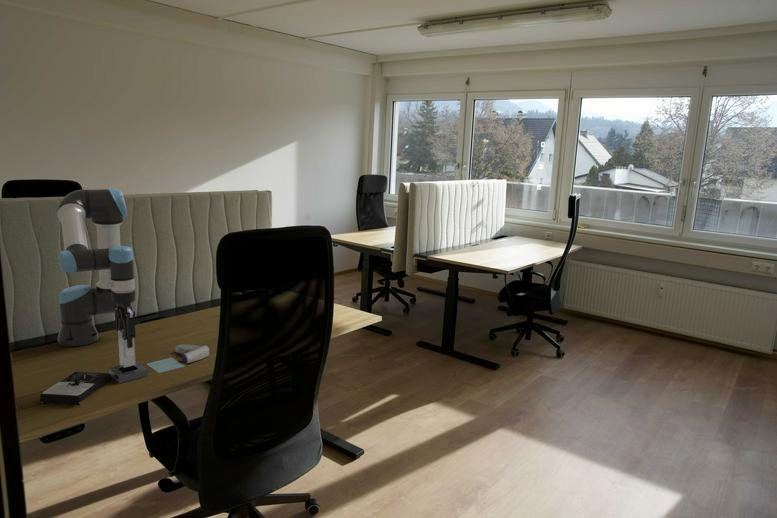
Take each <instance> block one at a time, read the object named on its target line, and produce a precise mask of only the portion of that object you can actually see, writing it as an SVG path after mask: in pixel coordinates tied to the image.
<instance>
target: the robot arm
mask: <svg viewBox="0 0 777 518" xmlns="http://www.w3.org/2000/svg"><path fill="white" fill-rule="evenodd" d="M56 215H57V219H58V220H59V221H60V224H61V231H62V240H63V246H64V248H63V249H64V250H61V251H59V253H58V258H59V267H60V268H59V270H60V271H61V272H62V273H78V272H90V271H91V272H92V271H98V272H99V273H98V275H99V280H98V281H97V282H96V283H95V287H93V288H92V287H91V286H90V285H89V284H77V285H73V286H69V287H66V288H63V289H62V290H61V291H60V292H59V295H58V297H59V299H58V304H59V313H60V329H59V332H58V336H57V345H59V346H62V347H79V346H80V347H81V346H87V345H90V344H93V343H95V342H97V341H98V340H99V332H98V330H97V328H96V326H95V323H94V322H93V317H94V316H100V315H109V314H114V317H115V330H116V332H117V333H118V330H120V329H124V332H125V338H123V340H124V344H125V357H128V356H132V355H134V349H133V338H134V339H135V338H136V312H135V311H134V310H133V307H132V305H131V304H132V303H134V302H135V300H136V291H135V289H136V284H135V274H134V272H135V269H134V254H133V253H134V251H133V248H132V247H131V246H127V245H121V231H120V226H121V225H122V224H123V223H124V219H126V218H127V217H128V212H127V205H126V202H125V197H124V194H123V192H122V191H121V190H120V189H113V188H112V189H110V188H108V189H107V188H103V189H102V188H101V189H76V190H74V191H71V192H69V193H68V194H66V195H65V196H64V197H63V198H62V199H61V200H60V201H59V203H58V206H57V209H56ZM86 219H89V220H90V219H91V223H92V224H93V225H94V226H96V238H97V239H96V240H97V242H96V243H97V248H95V249H94V248H93V249H90V248H89V245H88V238H87V233H86V227H85V226H86V225H85V220H86Z"/></svg>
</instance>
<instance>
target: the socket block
mask: <svg viewBox="0 0 777 518" xmlns="http://www.w3.org/2000/svg"><path fill="white" fill-rule="evenodd" d="M135 364H136V365H133V366H129V367H125V368H124V367H122V366H121V365H120V364H119V365H116V366H111V367H109V368H108V373H109V374H110V375H111V379H113V380H114V381H116V382H117V383H118V384H122V383H126V382H130V381H134V380H137V379H138V380H139V379H142V378H146V377H148V376H149V371H148V369H149V368H146V367H145V366H144V365H142V363H139V362H138V361H135Z"/></svg>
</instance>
